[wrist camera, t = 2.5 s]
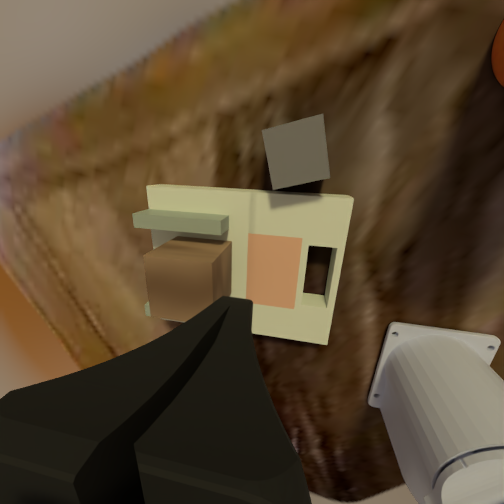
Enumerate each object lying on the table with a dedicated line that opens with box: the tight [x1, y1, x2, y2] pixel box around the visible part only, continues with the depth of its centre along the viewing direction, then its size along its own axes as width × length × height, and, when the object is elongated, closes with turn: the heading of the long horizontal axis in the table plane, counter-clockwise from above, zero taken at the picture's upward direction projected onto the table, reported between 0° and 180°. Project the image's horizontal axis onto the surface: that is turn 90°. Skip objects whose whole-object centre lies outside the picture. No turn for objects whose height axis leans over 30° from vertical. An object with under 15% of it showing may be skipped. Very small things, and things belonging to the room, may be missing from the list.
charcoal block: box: [262, 114, 330, 190], centre depth 16 cm, size 4×4×4 cm
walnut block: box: [143, 236, 232, 322], centre depth 17 cm, size 4×4×4 cm
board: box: [132, 184, 354, 345], centre depth 19 cm, size 12×15×4 cm
